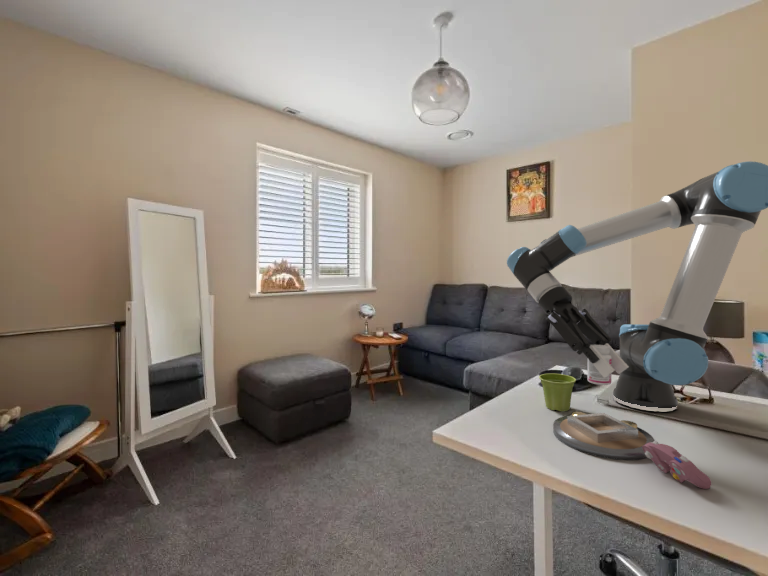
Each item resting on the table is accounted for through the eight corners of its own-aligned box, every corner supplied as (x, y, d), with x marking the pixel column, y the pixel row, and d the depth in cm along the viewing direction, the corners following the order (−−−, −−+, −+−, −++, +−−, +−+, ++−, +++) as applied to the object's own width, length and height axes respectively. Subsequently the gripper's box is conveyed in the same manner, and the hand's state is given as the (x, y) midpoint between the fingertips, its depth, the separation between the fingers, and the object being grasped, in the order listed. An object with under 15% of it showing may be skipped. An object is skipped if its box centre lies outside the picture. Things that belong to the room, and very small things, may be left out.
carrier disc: (606, 417, 94) (606, 404, 94) (680, 454, 74) (680, 437, 74) (536, 424, 91) (536, 410, 91) (593, 464, 71) (593, 446, 71)
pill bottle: (615, 386, 80) (615, 348, 79) (591, 385, 81) (591, 348, 80) (606, 379, 84) (606, 344, 84) (584, 379, 85) (584, 343, 85)
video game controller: (648, 470, 72) (633, 441, 71) (666, 459, 72) (652, 429, 72) (695, 501, 62) (679, 467, 61) (717, 487, 62) (701, 453, 62)
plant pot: (554, 416, 96) (554, 384, 96) (532, 404, 105) (532, 374, 105) (584, 412, 98) (583, 380, 98) (559, 400, 108) (559, 372, 107)
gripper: (562, 302, 100) (626, 375, 86) (518, 306, 91) (580, 387, 77) (580, 283, 95) (651, 357, 81) (535, 286, 86) (605, 368, 72)
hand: (616, 372), depth 79 cm, fingers closed on pill bottle, 5 cm apart
